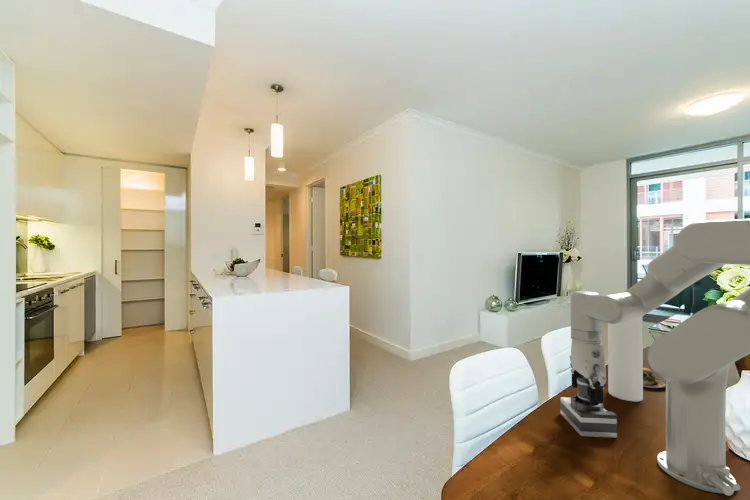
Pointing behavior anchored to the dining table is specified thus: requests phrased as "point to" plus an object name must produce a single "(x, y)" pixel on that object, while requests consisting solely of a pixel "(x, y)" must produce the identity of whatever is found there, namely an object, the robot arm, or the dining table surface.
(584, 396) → the lens
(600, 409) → the grey striped block
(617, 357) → the cylinder container
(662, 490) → the dining table surface
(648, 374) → the white patterned bowl
